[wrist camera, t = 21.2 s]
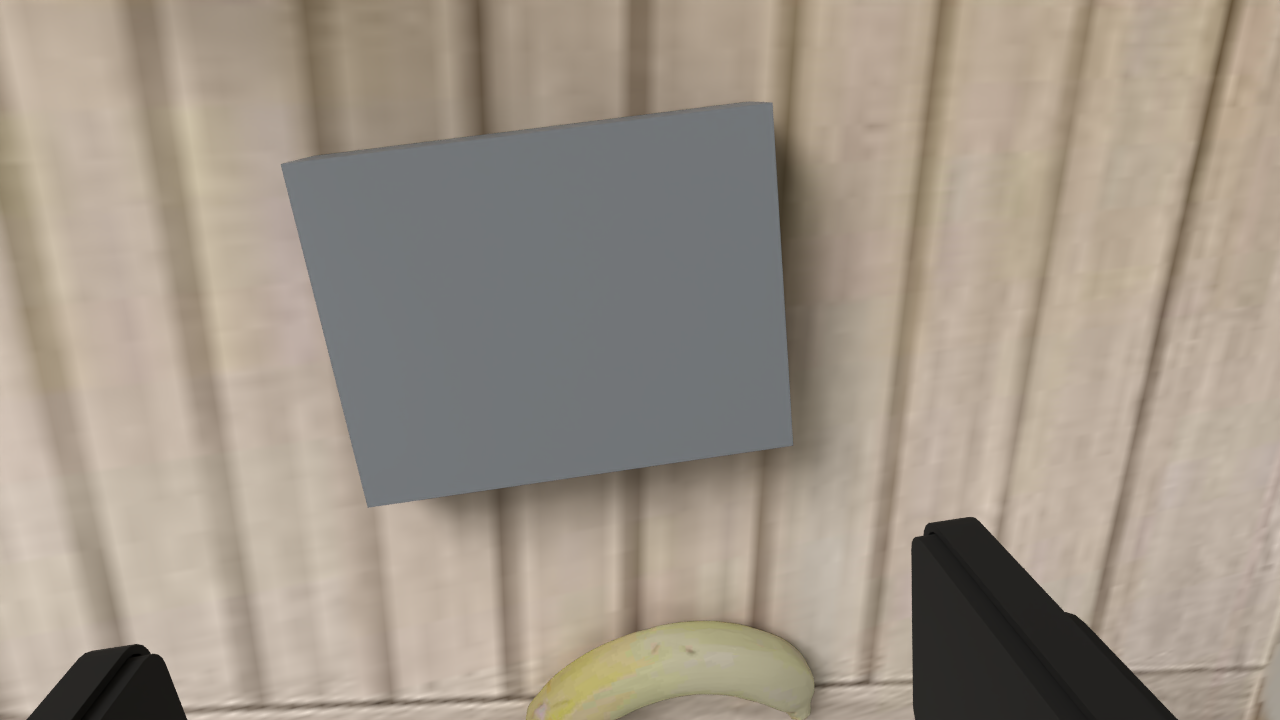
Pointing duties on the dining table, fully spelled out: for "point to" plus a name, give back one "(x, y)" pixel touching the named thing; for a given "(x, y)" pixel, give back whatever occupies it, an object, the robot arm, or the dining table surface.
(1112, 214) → the dining table surface
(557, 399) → the podium
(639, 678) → the fruit
